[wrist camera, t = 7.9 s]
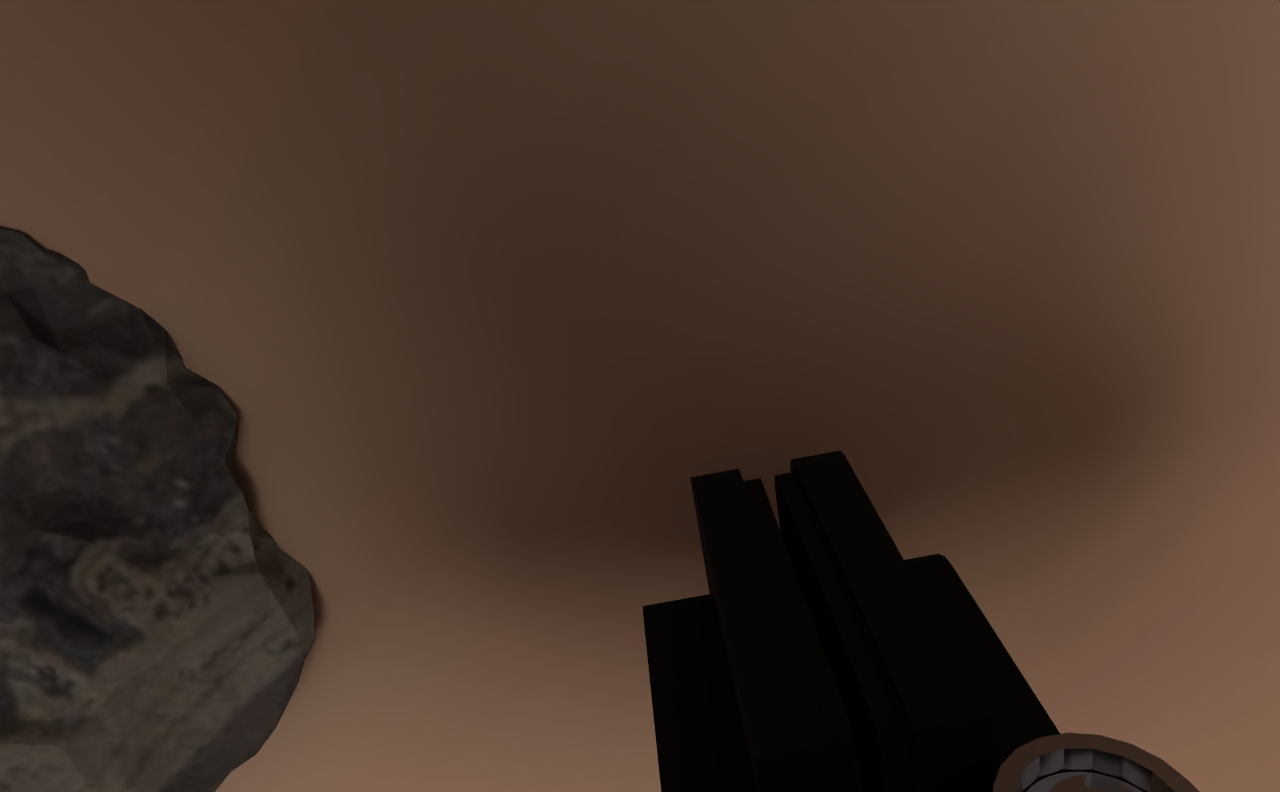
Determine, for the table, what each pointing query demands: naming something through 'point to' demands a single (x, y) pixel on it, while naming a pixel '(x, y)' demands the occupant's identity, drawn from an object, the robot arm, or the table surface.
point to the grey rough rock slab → (127, 553)
